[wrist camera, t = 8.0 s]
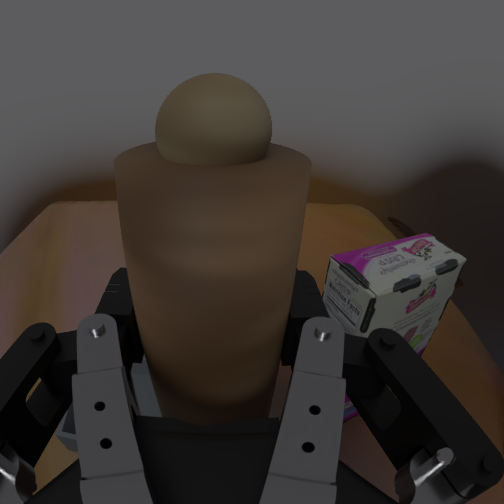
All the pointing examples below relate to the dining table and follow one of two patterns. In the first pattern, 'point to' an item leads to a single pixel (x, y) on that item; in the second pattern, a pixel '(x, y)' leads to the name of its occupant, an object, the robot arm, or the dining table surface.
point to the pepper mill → (212, 249)
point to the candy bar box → (392, 290)
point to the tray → (144, 397)
